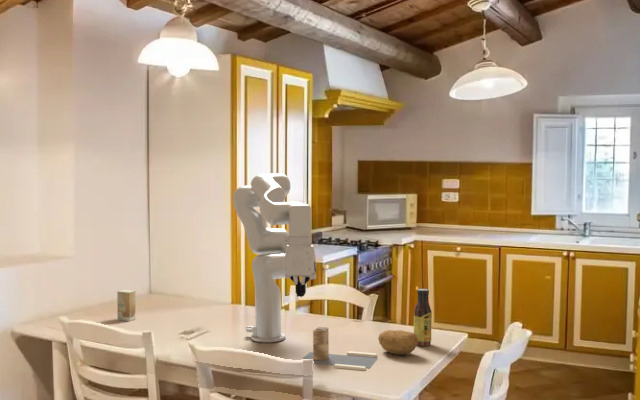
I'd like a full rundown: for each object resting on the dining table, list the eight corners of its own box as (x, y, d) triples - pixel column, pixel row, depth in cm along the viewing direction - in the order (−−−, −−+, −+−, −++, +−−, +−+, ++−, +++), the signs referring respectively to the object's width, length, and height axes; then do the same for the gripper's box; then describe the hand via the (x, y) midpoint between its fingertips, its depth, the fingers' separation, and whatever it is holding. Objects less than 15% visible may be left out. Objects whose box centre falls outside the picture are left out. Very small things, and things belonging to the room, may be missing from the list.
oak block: (313, 359, 232) (313, 329, 232) (317, 356, 236) (317, 326, 235) (324, 360, 231) (324, 330, 230) (328, 357, 235) (328, 327, 234)
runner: (295, 365, 228) (295, 361, 228) (311, 351, 243) (311, 348, 243) (367, 371, 220) (367, 368, 220) (379, 357, 236) (379, 353, 236)
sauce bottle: (427, 348, 247) (427, 292, 245) (410, 345, 250) (410, 290, 249) (434, 343, 252) (434, 288, 251) (418, 341, 256) (418, 287, 254)
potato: (385, 347, 248) (385, 325, 247) (422, 353, 240) (422, 330, 240) (372, 354, 239) (372, 331, 239) (410, 360, 232) (411, 336, 231)
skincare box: (117, 320, 292) (116, 291, 291) (123, 318, 296) (123, 289, 295) (129, 321, 289) (129, 292, 288) (136, 319, 293) (135, 290, 292)
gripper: (274, 241, 232) (275, 296, 233) (318, 243, 227) (318, 299, 228) (283, 239, 239) (283, 292, 240) (325, 240, 234) (325, 295, 236)
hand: (300, 295), depth 234 cm, fingers closed
